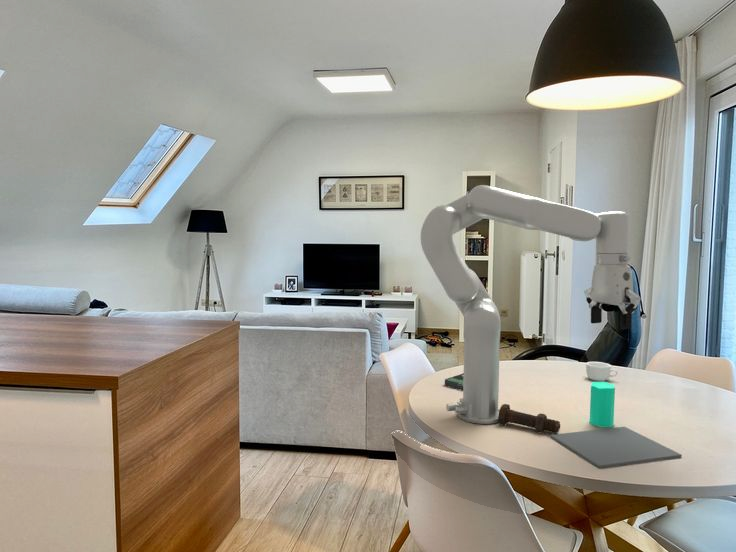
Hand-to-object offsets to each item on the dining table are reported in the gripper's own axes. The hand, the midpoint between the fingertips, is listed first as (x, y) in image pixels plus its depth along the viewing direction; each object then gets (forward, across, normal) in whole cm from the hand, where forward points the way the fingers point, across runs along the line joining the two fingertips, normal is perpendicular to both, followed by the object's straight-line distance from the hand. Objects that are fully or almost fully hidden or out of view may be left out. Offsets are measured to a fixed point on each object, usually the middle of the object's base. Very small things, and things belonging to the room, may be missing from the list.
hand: (610, 325), depth 139 cm
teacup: (+27, +34, -31) cm, 53 cm away
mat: (+27, -11, +10) cm, 30 cm away
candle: (+27, +2, 0) cm, 27 cm away
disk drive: (+27, +46, +14) cm, 55 cm away
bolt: (+27, +6, +21) cm, 34 cm away
